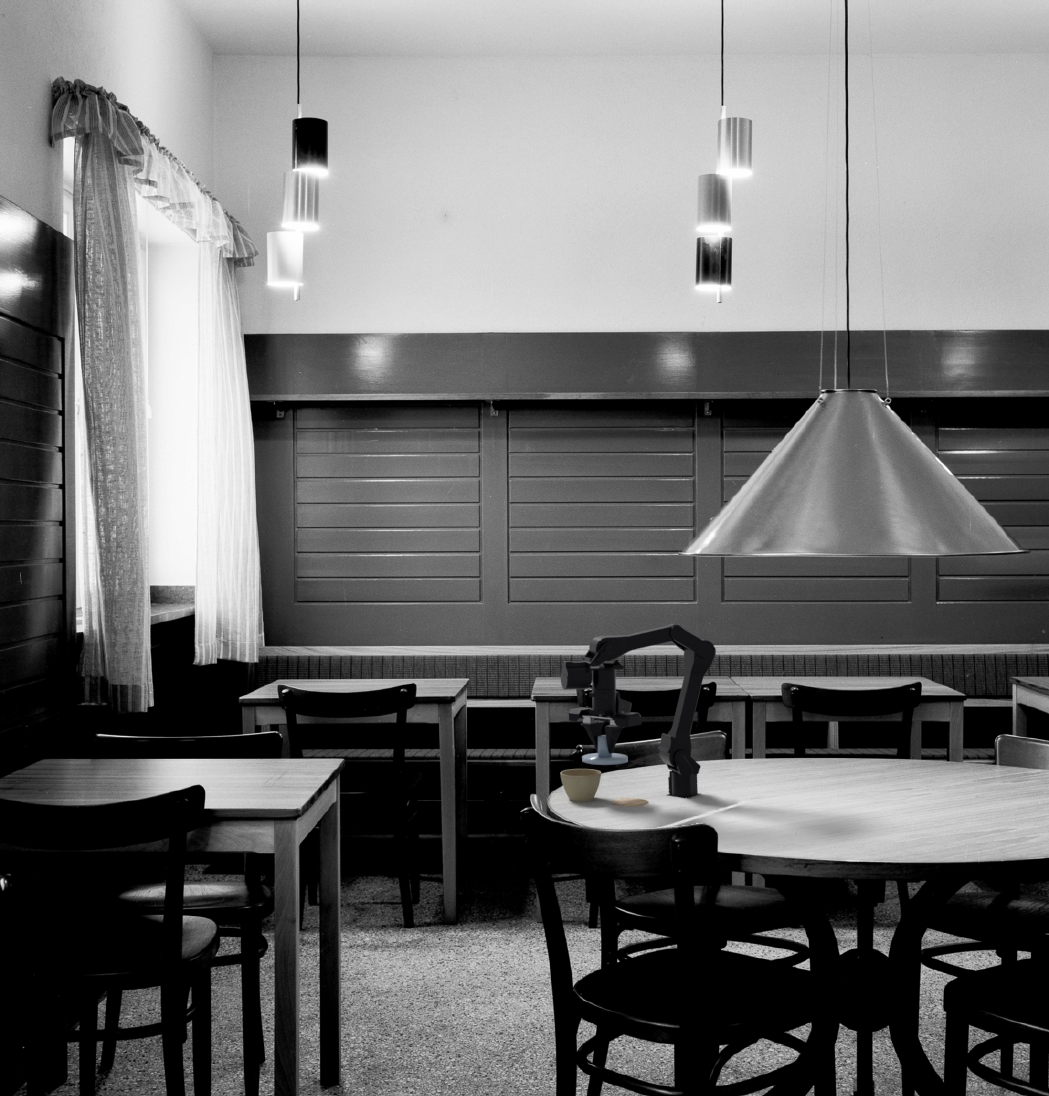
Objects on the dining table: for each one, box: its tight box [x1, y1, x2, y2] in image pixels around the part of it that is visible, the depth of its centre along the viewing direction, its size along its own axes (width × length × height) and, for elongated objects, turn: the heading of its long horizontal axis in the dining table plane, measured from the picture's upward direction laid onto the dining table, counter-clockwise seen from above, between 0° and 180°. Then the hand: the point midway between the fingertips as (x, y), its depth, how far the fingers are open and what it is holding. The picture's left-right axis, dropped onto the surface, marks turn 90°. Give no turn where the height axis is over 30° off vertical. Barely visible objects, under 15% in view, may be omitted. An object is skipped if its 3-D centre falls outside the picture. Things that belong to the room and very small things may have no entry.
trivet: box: [610, 797, 650, 808], centre depth 275 cm, size 9×9×1 cm
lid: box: [581, 734, 629, 766], centre depth 278 cm, size 11×11×6 cm
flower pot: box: [560, 768, 602, 803], centre depth 281 cm, size 10×10×7 cm
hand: (604, 752), depth 278 cm, fingers closed on lid, 3 cm apart
